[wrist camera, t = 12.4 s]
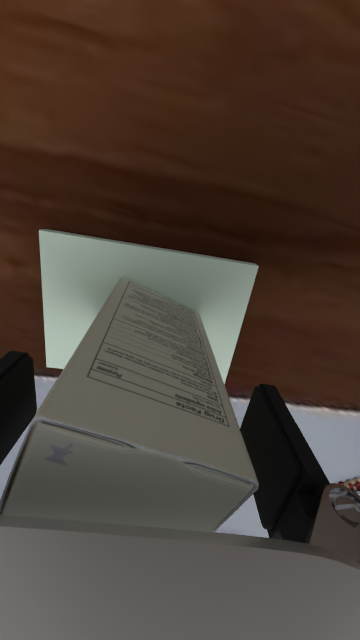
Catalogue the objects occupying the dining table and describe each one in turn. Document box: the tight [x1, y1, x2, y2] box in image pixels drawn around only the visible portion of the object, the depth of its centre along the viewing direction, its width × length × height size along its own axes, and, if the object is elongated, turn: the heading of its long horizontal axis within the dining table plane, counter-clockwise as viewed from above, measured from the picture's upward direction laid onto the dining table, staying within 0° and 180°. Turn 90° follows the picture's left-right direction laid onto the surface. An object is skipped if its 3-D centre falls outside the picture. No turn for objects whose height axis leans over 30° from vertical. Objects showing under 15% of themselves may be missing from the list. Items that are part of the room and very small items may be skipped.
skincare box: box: [0, 277, 259, 532], centre depth 12 cm, size 6×4×12 cm
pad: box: [39, 229, 259, 384], centre depth 18 cm, size 14×10×1 cm
